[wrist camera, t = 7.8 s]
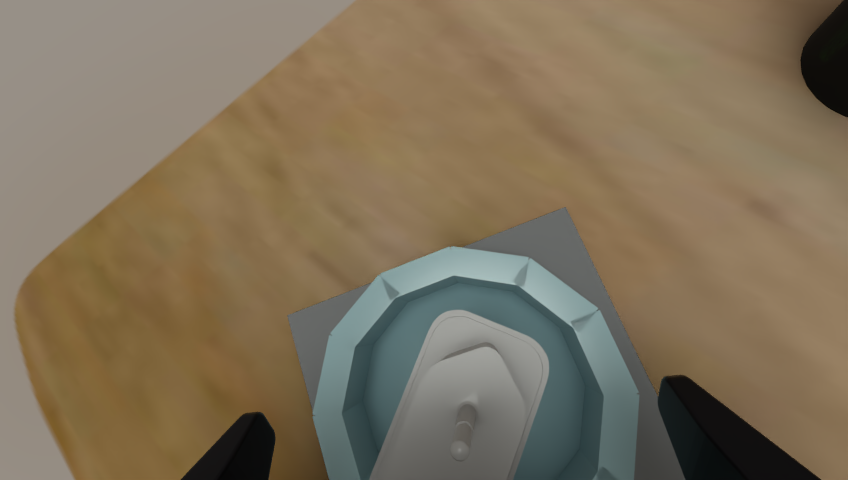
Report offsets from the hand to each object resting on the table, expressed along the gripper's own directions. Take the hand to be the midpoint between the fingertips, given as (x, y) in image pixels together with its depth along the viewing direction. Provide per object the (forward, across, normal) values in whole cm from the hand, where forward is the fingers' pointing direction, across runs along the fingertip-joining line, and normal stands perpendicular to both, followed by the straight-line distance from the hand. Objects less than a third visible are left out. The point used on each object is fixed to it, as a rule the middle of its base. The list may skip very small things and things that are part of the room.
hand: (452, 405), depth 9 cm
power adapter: (+5, 0, +6) cm, 8 cm away
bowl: (+5, 0, +7) cm, 9 cm away
